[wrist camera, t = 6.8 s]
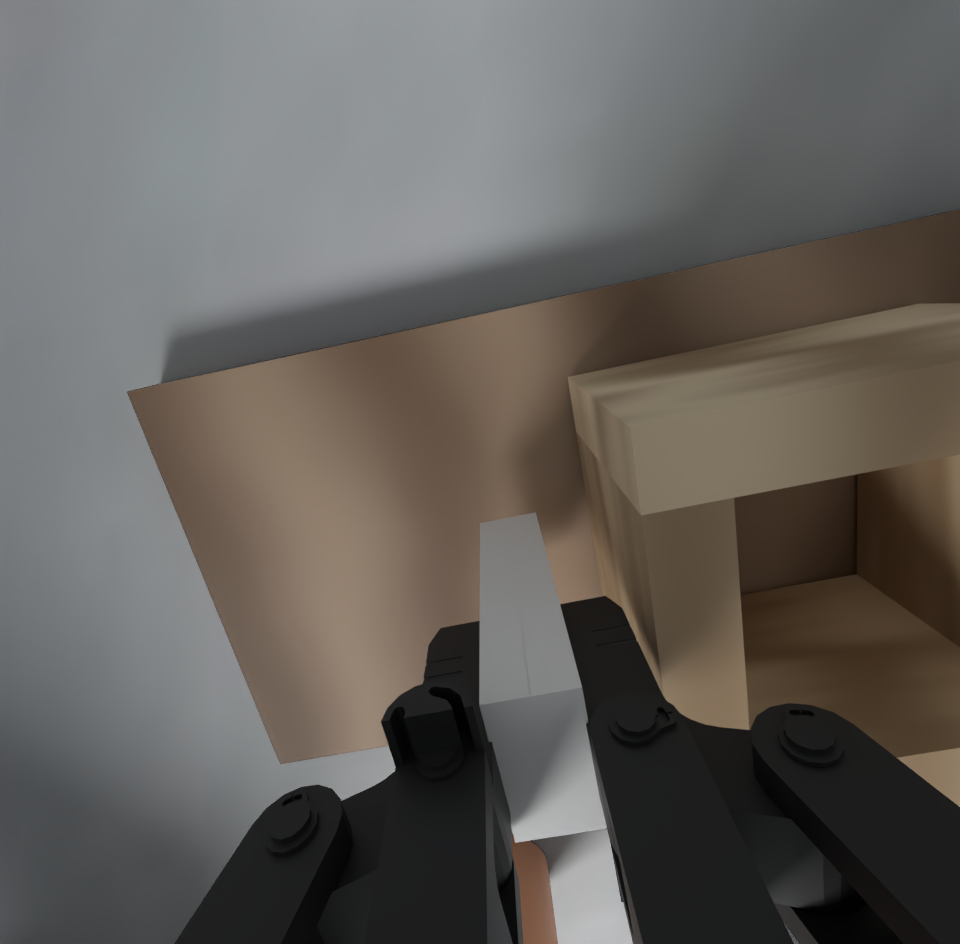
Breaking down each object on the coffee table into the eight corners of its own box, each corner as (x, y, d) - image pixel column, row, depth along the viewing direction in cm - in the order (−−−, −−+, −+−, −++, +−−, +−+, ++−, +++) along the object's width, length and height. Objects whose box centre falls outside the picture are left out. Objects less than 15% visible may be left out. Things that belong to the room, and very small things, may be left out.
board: (294, 730, 19) (133, 1101, 10) (159, 383, 16) (-285, 493, 7) (1028, 602, 18) (1593, 907, 9) (1079, 183, 14) (2174, -40, 5)
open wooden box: (612, 660, 17) (683, 848, 11) (567, 376, 14) (629, 427, 8) (907, 608, 16) (1145, 777, 10) (919, 303, 13) (1250, 302, 8)
